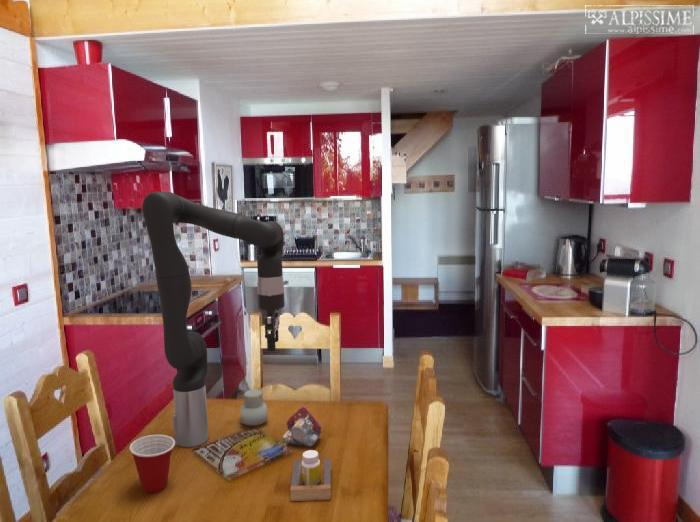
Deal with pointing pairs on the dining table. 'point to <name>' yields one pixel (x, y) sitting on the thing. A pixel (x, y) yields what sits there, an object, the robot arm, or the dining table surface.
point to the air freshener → (253, 408)
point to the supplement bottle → (311, 468)
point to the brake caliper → (302, 429)
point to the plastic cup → (153, 461)
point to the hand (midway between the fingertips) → (273, 346)
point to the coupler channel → (310, 490)
